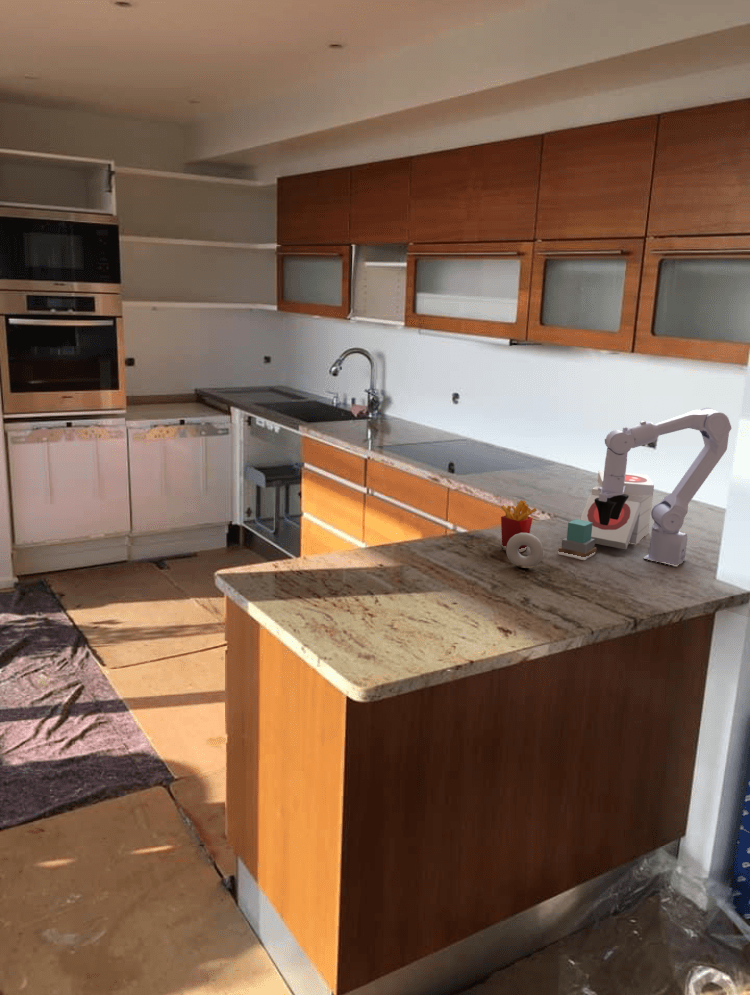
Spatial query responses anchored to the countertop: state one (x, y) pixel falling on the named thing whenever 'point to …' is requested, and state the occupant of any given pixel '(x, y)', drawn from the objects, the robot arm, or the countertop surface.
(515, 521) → the french fries
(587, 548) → the tower top
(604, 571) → the countertop surface
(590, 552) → the block
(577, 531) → the teal cube
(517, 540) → the donut
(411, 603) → the countertop surface
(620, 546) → the stacked pizza boxes
